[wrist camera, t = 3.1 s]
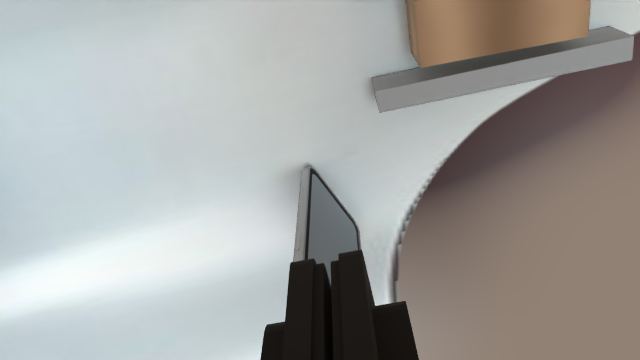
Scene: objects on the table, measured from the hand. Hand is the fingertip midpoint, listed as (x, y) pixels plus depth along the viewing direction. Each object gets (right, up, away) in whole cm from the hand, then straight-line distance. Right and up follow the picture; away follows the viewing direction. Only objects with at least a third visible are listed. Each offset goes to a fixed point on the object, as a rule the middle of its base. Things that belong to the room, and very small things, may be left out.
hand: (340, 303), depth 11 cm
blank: (+10, +14, +21) cm, 27 cm away
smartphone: (0, +2, +28) cm, 28 cm away
